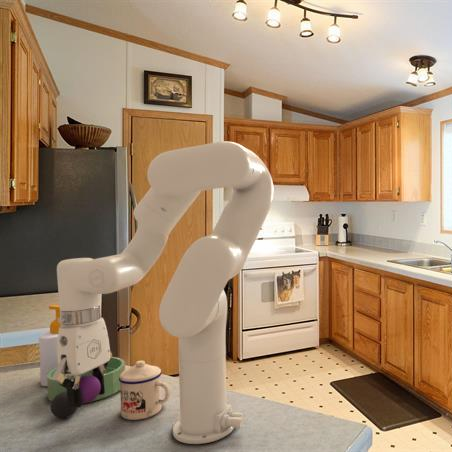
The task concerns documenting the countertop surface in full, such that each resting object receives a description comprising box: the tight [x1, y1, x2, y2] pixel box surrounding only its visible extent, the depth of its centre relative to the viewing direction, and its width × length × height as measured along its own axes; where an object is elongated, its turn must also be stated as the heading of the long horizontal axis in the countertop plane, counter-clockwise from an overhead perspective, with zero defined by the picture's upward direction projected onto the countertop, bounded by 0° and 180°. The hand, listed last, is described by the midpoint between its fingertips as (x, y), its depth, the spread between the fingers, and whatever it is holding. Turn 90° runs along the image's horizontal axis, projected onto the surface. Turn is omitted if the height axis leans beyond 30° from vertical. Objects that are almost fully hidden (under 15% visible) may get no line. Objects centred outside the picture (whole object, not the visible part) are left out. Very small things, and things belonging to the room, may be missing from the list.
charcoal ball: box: [49, 391, 78, 419], centre depth 97 cm, size 6×6×6 cm
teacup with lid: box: [119, 360, 171, 421], centre depth 99 cm, size 12×9×12 cm
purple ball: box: [79, 375, 101, 404], centre depth 92 cm, size 6×6×6 cm
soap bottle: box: [38, 304, 61, 387], centre depth 121 cm, size 13×8×20 cm, turn 169°
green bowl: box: [46, 356, 126, 405], centre depth 111 cm, size 18×18×6 cm
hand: (86, 399), depth 92 cm, fingers closed on purple ball, 5 cm apart
